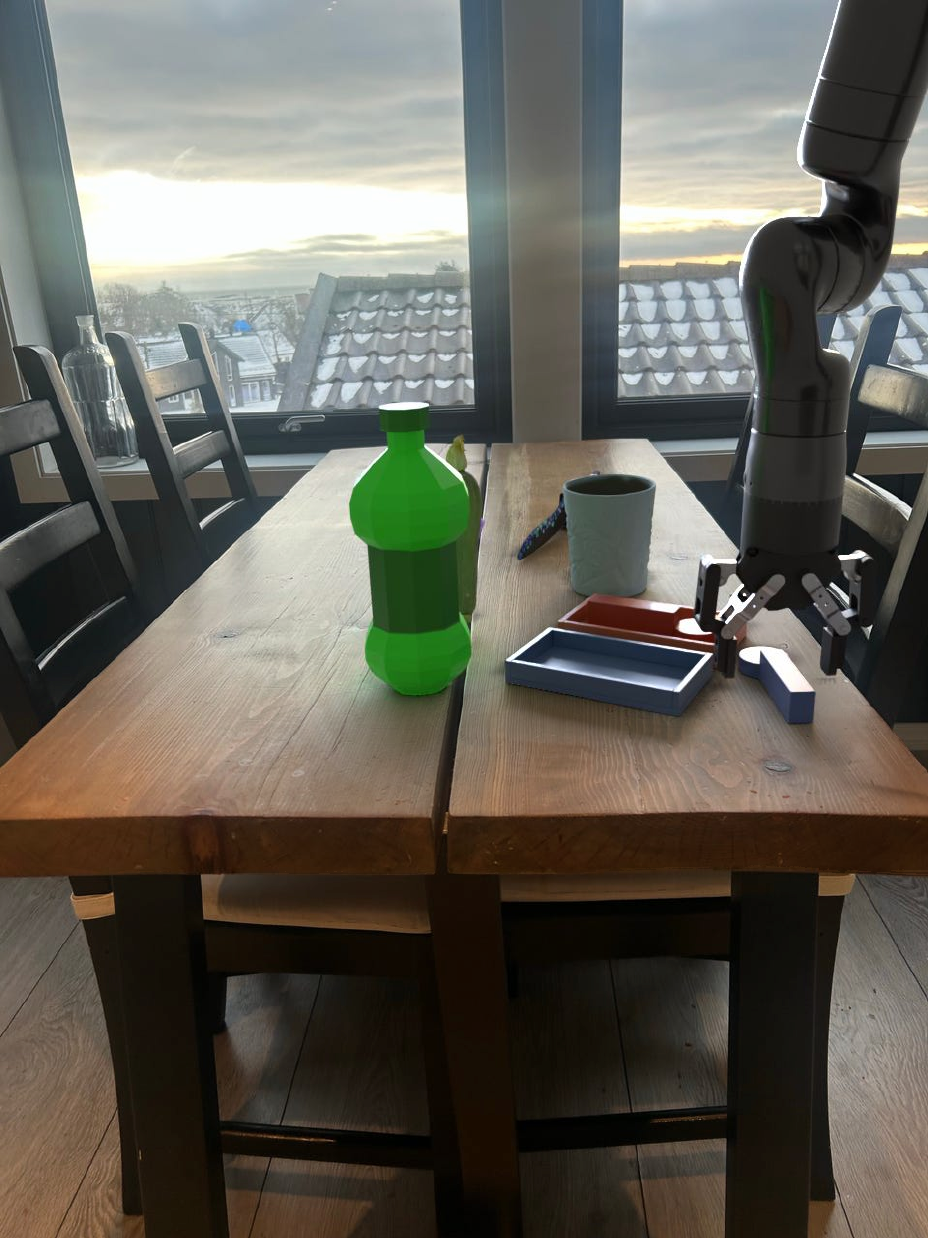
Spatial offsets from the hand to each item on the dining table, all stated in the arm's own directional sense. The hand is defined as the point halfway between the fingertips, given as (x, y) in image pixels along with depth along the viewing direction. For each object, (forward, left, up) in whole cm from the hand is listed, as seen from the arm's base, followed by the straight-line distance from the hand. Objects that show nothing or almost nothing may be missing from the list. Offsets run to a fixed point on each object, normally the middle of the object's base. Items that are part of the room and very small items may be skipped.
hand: (777, 673), depth 85 cm
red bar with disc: (+14, -8, -1) cm, 16 cm away
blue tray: (+14, +3, -2) cm, 15 cm away
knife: (+39, -40, -2) cm, 56 cm away
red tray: (+14, -8, -2) cm, 16 cm away
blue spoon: (0, -1, -2) cm, 2 cm away
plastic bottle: (+29, +11, -2) cm, 31 cm away
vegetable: (+33, -4, -2) cm, 33 cm away
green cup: (+24, -21, -2) cm, 32 cm away
